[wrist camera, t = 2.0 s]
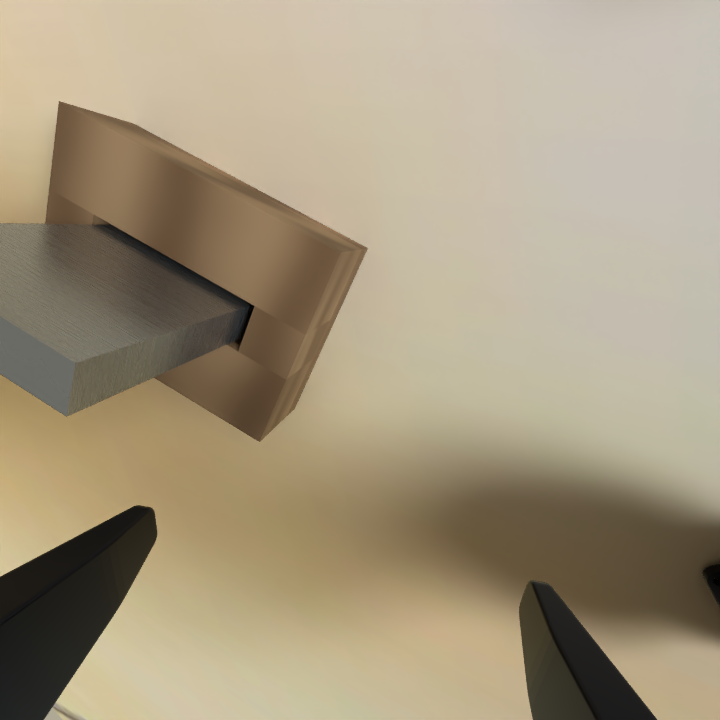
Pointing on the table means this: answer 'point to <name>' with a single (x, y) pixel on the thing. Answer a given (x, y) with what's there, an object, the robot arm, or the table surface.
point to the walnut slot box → (212, 257)
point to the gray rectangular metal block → (101, 312)
